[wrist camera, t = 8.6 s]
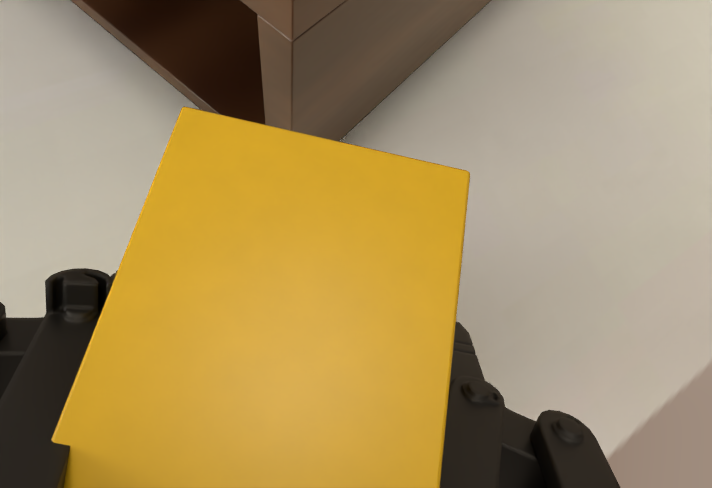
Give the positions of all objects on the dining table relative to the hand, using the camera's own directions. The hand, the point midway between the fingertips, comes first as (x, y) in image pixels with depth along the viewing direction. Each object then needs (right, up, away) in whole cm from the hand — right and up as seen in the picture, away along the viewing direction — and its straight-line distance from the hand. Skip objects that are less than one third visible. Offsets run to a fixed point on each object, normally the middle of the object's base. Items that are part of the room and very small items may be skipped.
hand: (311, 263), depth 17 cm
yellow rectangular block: (-1, -5, +2) cm, 5 cm away
